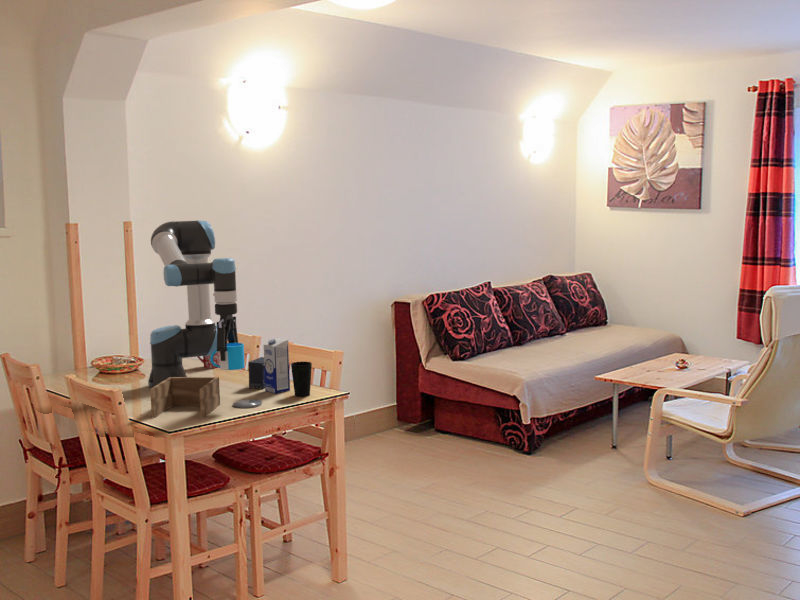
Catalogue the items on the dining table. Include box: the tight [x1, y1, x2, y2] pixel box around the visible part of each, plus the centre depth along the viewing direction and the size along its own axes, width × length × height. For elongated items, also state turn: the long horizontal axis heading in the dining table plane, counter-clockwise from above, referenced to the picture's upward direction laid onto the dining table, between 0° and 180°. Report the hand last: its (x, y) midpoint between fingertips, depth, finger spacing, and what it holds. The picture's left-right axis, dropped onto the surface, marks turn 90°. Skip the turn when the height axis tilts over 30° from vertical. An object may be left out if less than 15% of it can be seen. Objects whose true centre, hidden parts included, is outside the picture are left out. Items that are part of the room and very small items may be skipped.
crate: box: [149, 376, 221, 419], centre depth 278 cm, size 18×18×10 cm
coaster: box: [232, 399, 263, 409], centre depth 286 cm, size 10×10×1 cm
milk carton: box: [263, 337, 291, 395], centre depth 305 cm, size 7×7×20 cm
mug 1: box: [197, 351, 220, 369], centre depth 352 cm, size 13×9×14 cm
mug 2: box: [210, 342, 246, 371], centre depth 280 cm, size 12×8×8 cm
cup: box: [290, 361, 313, 398], centre depth 298 cm, size 8×8×12 cm
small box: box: [248, 356, 265, 390], centre depth 315 cm, size 11×6×10 cm, turn 161°
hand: (228, 367), depth 282 cm, fingers closed on mug 2, 8 cm apart
